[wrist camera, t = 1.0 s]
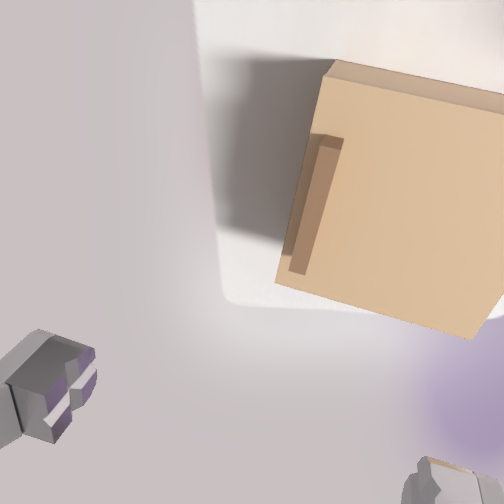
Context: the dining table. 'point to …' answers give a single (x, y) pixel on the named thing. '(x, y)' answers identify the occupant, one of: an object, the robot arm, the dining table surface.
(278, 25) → the dining table surface
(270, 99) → the dining table surface
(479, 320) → the lid
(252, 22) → the dining table surface
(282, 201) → the dining table surface
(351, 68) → the box
